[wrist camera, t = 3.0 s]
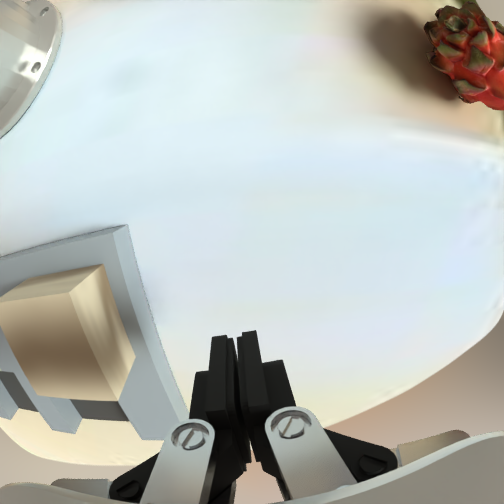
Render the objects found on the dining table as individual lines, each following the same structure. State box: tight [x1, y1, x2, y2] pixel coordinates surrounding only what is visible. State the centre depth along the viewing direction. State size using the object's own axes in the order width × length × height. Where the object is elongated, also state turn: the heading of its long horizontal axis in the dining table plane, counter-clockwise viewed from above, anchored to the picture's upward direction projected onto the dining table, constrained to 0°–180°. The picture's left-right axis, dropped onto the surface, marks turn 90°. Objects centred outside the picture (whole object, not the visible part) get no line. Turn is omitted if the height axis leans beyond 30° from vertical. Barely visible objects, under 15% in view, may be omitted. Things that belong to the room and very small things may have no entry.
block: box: [0, 264, 136, 401], centre depth 12 cm, size 6×6×4 cm
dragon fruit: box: [424, 1, 504, 110], centre depth 11 cm, size 8×8×12 cm
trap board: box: [0, 225, 189, 440], centre depth 16 cm, size 16×24×2 cm, turn 98°
